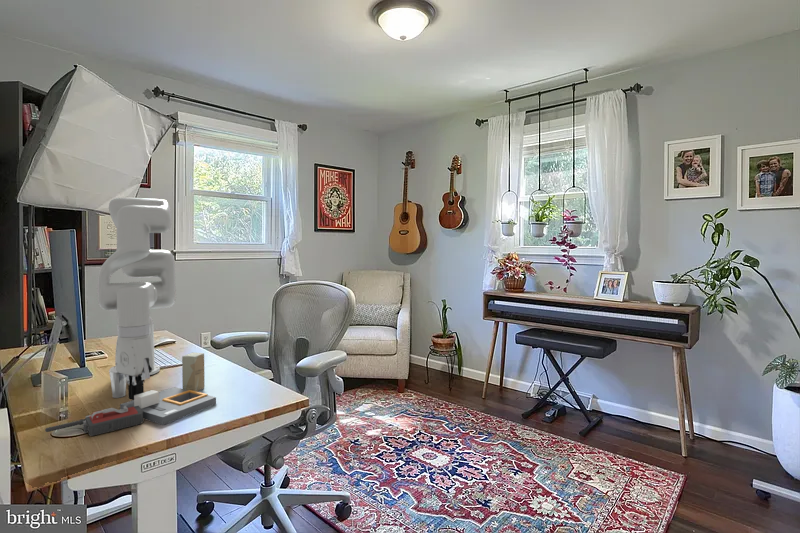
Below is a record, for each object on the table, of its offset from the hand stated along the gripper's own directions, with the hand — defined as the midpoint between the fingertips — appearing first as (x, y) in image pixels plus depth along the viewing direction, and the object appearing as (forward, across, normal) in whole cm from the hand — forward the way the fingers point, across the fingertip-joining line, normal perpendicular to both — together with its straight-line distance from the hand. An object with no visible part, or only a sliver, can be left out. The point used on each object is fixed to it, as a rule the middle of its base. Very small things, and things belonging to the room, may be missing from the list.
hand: (136, 398), depth 121 cm
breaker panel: (+3, +7, +5) cm, 9 cm away
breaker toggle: (+1, +5, 0) cm, 5 cm away
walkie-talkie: (+3, +4, -12) cm, 13 cm away
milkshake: (+3, -14, +4) cm, 15 cm away
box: (+3, 0, +18) cm, 18 cm away
